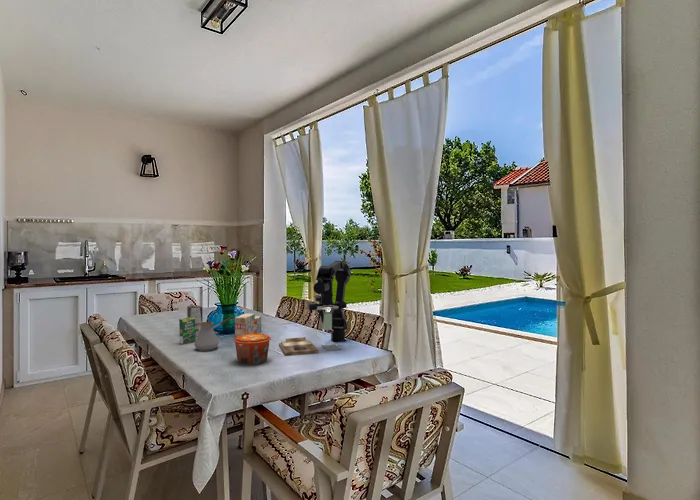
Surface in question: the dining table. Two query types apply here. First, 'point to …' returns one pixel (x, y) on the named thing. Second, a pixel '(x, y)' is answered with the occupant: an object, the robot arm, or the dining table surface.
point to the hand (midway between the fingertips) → (327, 322)
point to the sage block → (327, 321)
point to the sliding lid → (296, 342)
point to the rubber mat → (330, 347)
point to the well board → (304, 350)
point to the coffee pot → (208, 336)
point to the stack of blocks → (247, 324)
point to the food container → (252, 348)
